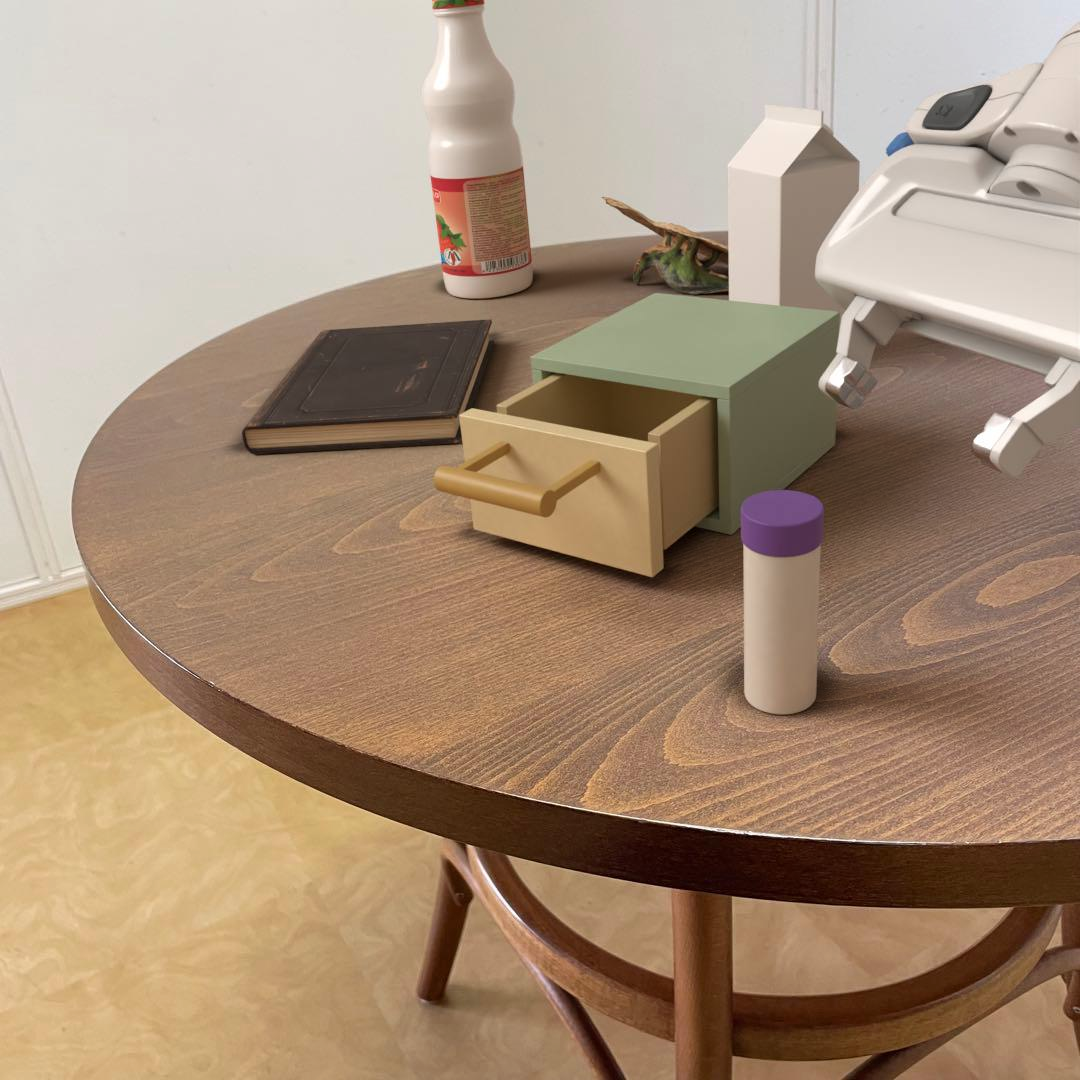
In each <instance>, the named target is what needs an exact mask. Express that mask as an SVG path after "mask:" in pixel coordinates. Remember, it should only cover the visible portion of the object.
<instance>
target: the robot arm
mask: <svg viewBox="0 0 1080 1080" xmlns="http://www.w3.org/2000/svg"><path fill="white" fill-rule="evenodd" d="M905 130H906V132H907V133H908V134H909V136H910V137H911V139H912V141H913V142H914V145H910V146H907V147H904V148H902V149H900V150H898V151H896V152H895V153H893V154H892V155H891V156H887V158H885V160H883V161H882V162H881V163H880V164H879V165H878V166H877V167H876V168H875V170H874V171H873V172H872V173H871V174H870V176H868V178H867V179H866V181H865V182H864V184H863V185H862V186H861V187H860V188H859V191H858V193H857V194H856V195H855V197H854V198H853V199H852V201H851V202H850V203H849V205H848V206H847V208H846V209H845V210H844V212H843V213H842V215H841V216H840V218H839V219H838V220H837V222H836V223H835V225H834V226H833V228H832V229H831V231H830V232H829V234H828V235H827V237H826V239H825V240H824V242H823V243H822V245H821V247H820V249H819V251H818V253H817V257H816V265H815V278H816V280H817V282H818V283H819V284H820V285H821V286H822V288H823V289H824V290H825V291H826V292H827V293H828V294H829V295H830V296H831V297H832V298H833V299H834V300H835V301H836V302H837V303H838V304H839V305H840V306H841V307H842V308H843V309H844V310H845V313H844V314H843V315H842V319H841V325H840V331H839V338H838V344H837V350H836V353H837V355H836V357H835V358H834V359H833V361H832V362H831V364H830V365H829V366H828V368H827V369H826V371H825V372H824V373H823V375H822V376H821V378H820V380H819V389H820V390H821V391H822V392H823V393H824V394H825V395H826V396H827V397H828V398H829V399H831V400H832V401H834V402H836V403H837V404H839V405H842V406H844V407H846V408H848V409H851V410H857V409H859V408H860V407H862V405H863V404H864V402H865V398H866V397H867V396H868V395H870V394H871V392H872V391H873V389H874V388H875V387H876V385H877V384H878V382H879V380H877V378H875V377H874V376H873V374H872V373H870V369H871V368H870V367H871V364H872V360H873V356H874V353H875V349H876V346H877V344H878V345H880V346H882V347H884V346H886V345H887V344H888V343H889V342H890V340H891V339H892V338H893V336H894V335H895V334H896V332H897V331H898V330H901V331H903V332H907V333H910V334H913V335H916V336H919V337H923V338H925V339H928V340H931V341H935V342H938V343H942V344H944V345H946V346H950V347H953V348H957V349H960V350H963V351H966V352H969V353H972V354H975V355H978V356H981V357H984V358H986V359H987V358H988V359H991V360H994V361H996V362H1000V363H1003V364H1006V365H1009V366H1012V367H1016V368H1019V369H1021V370H1024V371H1028V372H1031V373H1034V374H1037V375H1040V376H1043V377H1044V383H1045V384H1046V385H1047V387H1048V388H1049V390H1047V391H1046V392H1044V393H1043V394H1042V395H1040V396H1039V397H1037V398H1036V399H1034V400H1033V401H1031V402H1029V403H1028V404H1027V405H1026V406H1024V407H1023V408H1021V409H1020V410H1018V411H1016V413H1014V414H1012V415H1011V416H1006V415H1004V414H1001V413H997V412H993V413H992V415H991V416H990V418H989V419H988V420H987V421H986V423H985V424H984V425H983V431H982V432H981V433H979V434H977V435H976V437H975V438H974V440H973V441H972V444H971V453H972V454H973V455H974V456H975V457H976V458H977V459H978V460H979V461H980V463H981V464H982V465H983V466H985V467H988V468H990V469H992V470H995V471H996V472H999V473H1002V474H1003V475H1006V476H1007V477H1011V478H1017V477H1019V476H1021V474H1022V473H1023V472H1024V471H1025V470H1026V468H1027V467H1028V465H1029V464H1030V463H1031V461H1032V460H1033V459H1034V457H1035V456H1037V454H1038V452H1039V450H1040V449H1041V448H1042V447H1043V446H1048V445H1049V444H1051V443H1053V442H1054V441H1057V440H1058V439H1060V438H1062V437H1064V436H1066V435H1067V434H1069V433H1071V432H1073V431H1076V430H1077V429H1079V428H1080V20H1079V21H1078V22H1076V23H1075V24H1074V25H1072V26H1071V27H1070V28H1069V29H1068V30H1066V32H1065V33H1064V34H1063V35H1062V36H1061V38H1060V39H1059V40H1058V41H1057V42H1056V44H1055V45H1054V46H1053V48H1052V49H1051V51H1050V52H1049V54H1048V55H1047V57H1046V58H1045V59H1044V60H1043V62H1034V63H1030V64H1026V65H1024V66H1021V67H1019V68H1017V69H1015V70H1012V71H1011V72H1008V73H1005V74H1002V75H1000V76H997V77H994V78H991V79H988V80H985V81H981V82H978V83H974V84H970V85H968V86H963V87H959V88H955V89H951V90H947V91H942V92H938V93H935V94H933V95H931V96H928V97H927V98H926V99H924V100H923V101H922V102H921V103H920V104H919V105H918V107H917V108H916V109H915V110H914V112H913V113H912V114H911V116H910V118H909V120H908V121H907V124H906V127H905Z"/></svg>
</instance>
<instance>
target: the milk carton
mask: <svg viewBox="0 0 1080 1080" xmlns="http://www.w3.org/2000/svg"><path fill="white" fill-rule="evenodd" d="M824 114H825V113H824V110H821V109H812V108H806V107H796V106H789V105H779V104H772V103H765V104H764V119H763V120H762V122H761V123H760V124H759V126H758V127H757V128H756V129H755V130H754V131H753V133H752V134H751V135H750V136H749V137H748V139H747V140H746V141H745V142H744V144H743V145H742V146H741V148H740V149H739V150H738V151H737V152H736V154H735V155H734V156H733V157H732V159H731V160H730V161H729V162H728V163H727V225H728V226H727V235H728V236H727V237H728V238H727V239H728V241H727V247H728V251H729V265H728V282H729V291H728V300H730V301H739V302H749V303H759V304H768V305H778V306H787V307H797V308H807V309H816V310H826V311H836V312H840V324H839V331H840V325H841V319H842V315H843V314H844V313H845V310H844V309H843V308H842V307H841V306H840V305H839V304H838V303H837V302H836V301H835V300H834V299H833V298H832V297H831V296H830V295H829V294H828V293H827V292H826V291H825V290H824V289H823V288H822V286H821V285H820V284H819V283H818V282H817V280H816V278H815V265H816V257H817V253H818V251H819V249H820V247H821V245H822V243H823V242H824V240H825V239H826V237H827V235H828V234H829V232H830V231H831V229H832V228H833V226H834V225H835V223H836V222H837V220H838V219H839V218H840V216H841V215H842V213H843V212H844V210H845V209H846V208H847V206H848V205H849V203H850V202H851V201H852V199H853V198H854V197H855V195H856V194H857V193H858V191H859V190H860V169H861V168H860V167H861V165H860V163H861V161H860V160H859V159H858V158H857V157H856V156H855V155H854V154H853V153H852V152H851V151H850V150H848V148H846V147H845V146H844V145H843V143H841V142H840V141H839V140H838V139H837V138H836V137H835V136H834V131H833V130H832V128H831V127H830V126H828V125H827V124H826V123H824Z"/></svg>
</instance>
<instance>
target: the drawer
mask: <svg viewBox="0 0 1080 1080" xmlns="http://www.w3.org/2000/svg"><path fill="white" fill-rule="evenodd" d="M717 399H718V398H712V397H706V396H700V395H693V394H687V393H681V392H674V391H668V390H662V389H656V388H649V387H643V386H637V385H630V384H624V383H618V382H612V381H605V380H599V379H593V378H586V377H580V376H574V375H568V374H561V373H555V374H553V375H551V376H549V377H548V378H546V379H544V380H542V381H540V382H538V383H537V384H535V385H533V384H532V385H531V386H529V387H527V388H525V389H524V390H522V391H520V392H518V393H517V394H515V395H512V396H511V397H509V398H507V399H505V400H503V401H501V402H499V403H498V404H496V412H495V411H490V410H489V411H488V410H485V409H480V408H479V409H478V408H475V407H474V408H473V407H472V408H471V409H469V410H468V411H466V412H464V413H462V414H460V415H459V419H460V426H461V434H462V439H461V442H462V448H463V449H462V450H463V456H464V462H462V463H460V464H458V465H457V466H450V465H447V464H444V465H443V464H442V465H440V466H439V467H438V468H437V469H436V471H435V473H434V475H433V486H434V488H435V489H436V490H437V492H442V493H446V494H449V495H454V496H457V497H461V498H465V499H469V502H470V509H471V510H470V511H471V518H472V519H471V520H472V527H473V530H475V531H478V532H482V533H485V534H489V535H493V536H497V537H500V538H505V539H507V540H508V539H509V540H511V541H515V542H518V543H523V544H527V545H530V546H534V547H538V548H542V549H545V550H548V551H553V552H555V553H560V554H563V555H568V556H571V557H574V558H578V559H582V560H586V561H590V562H592V563H593V562H594V563H597V564H601V565H604V566H608V567H612V568H616V569H620V570H623V571H627V572H630V573H633V574H634V573H635V574H638V575H640V576H641V575H642V576H645V577H650V578H654V577H655V576H656V575H657V574H658V573H660V572H661V571H662V570H663V569H664V567H665V566H664V550H667V549H668V548H669V547H670V546H672V545H673V544H674V543H675V542H677V541H678V540H679V539H681V538H682V537H683V536H684V535H685V534H687V533H688V532H689V531H690V530H691V529H693V528H694V527H695V525H696V524H697V523H698V522H700V521H701V520H702V519H703V518H705V517H706V516H707V515H708V514H709V513H711V512H712V511H713V510H714V509H716V508H717V507H718V506H719V464H718V404H717Z"/></svg>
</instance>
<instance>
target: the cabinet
mask: <svg viewBox="0 0 1080 1080" xmlns="http://www.w3.org/2000/svg"><path fill="white" fill-rule="evenodd" d="M839 324H840V312H836V311H826V310H816V309H807V308H797V307H787V306H778V305H768V304H759V303H749V302H739V301H730V300H729V299H718V298H710V297H700V296H691V295H680V294H671V293H662V292H661V293H660V292H654V293H652V294H650V295H648V296H646V297H645V298H642V299H640V300H638V301H636V302H633V304H631V305H629V306H626V307H625V308H623V309H621V310H619V311H617V312H614V313H613V314H610V315H608V316H606V317H605V318H603V319H601V320H599V321H597V322H595V323H593V324H592V325H589V326H588V327H585V328H583V329H581V330H580V331H578V332H576V333H573V334H572V335H569V336H568V337H566V338H564V339H562V340H559V341H558V342H556V343H554V344H552V345H550V346H548V347H546V348H544V349H542V350H540V351H538V352H537V353H534V354H532V355H531V356H530V357H529V358H530V368H531V377H532V386H533V385H535V384H537V383H538V382H540V381H542V380H544V379H546V378H548V377H549V376H551V375H553V374H555V373H561V374H568V375H574V376H580V377H586V378H593V379H599V380H605V381H612V382H618V383H624V384H630V385H637V386H643V387H649V388H656V389H662V390H668V391H674V392H681V393H687V394H693V395H700V396H706V397H712V398H718V399H717V404H718V464H719V506H718V507H717V508H716V509H714V510H713V511H712V512H711V513H709V514H708V515H707V516H706V517H705V518H703V519H702V520H701V521H700V522H698V523H697V524H696V525H695V526H694V527H696V528H699V529H704V530H708V531H712V532H717V533H721V534H724V535H729V536H732V535H733V534H735V533H736V532H737V531H738V530H739V529H741V506H742V504H743V502H744V501H745V500H746V499H748V498H749V497H751V496H753V495H755V494H758V493H762V492H766V491H773V490H786V488H787V487H788V486H790V485H791V484H792V483H793V482H795V480H797V479H798V478H799V477H800V476H801V475H802V474H803V473H805V472H806V471H807V470H808V469H809V468H810V467H811V466H813V465H814V464H815V463H816V462H817V461H818V460H819V459H821V458H822V457H823V456H824V455H825V454H826V453H827V452H829V451H830V450H831V449H832V448H833V447H835V445H836V432H837V409H838V408H837V406H838V403H836V402H834V401H832V400H831V399H829V398H828V397H827V396H826V395H825V394H824V393H823V392H822V391H821V390H820V389H819V380H820V378H821V376H822V375H823V373H824V372H825V371H826V369H827V368H828V366H829V365H830V364H831V362H832V361H833V359H834V358H835V357H836V355H837V353H836V350H837V344H838V338H839Z"/></svg>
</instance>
